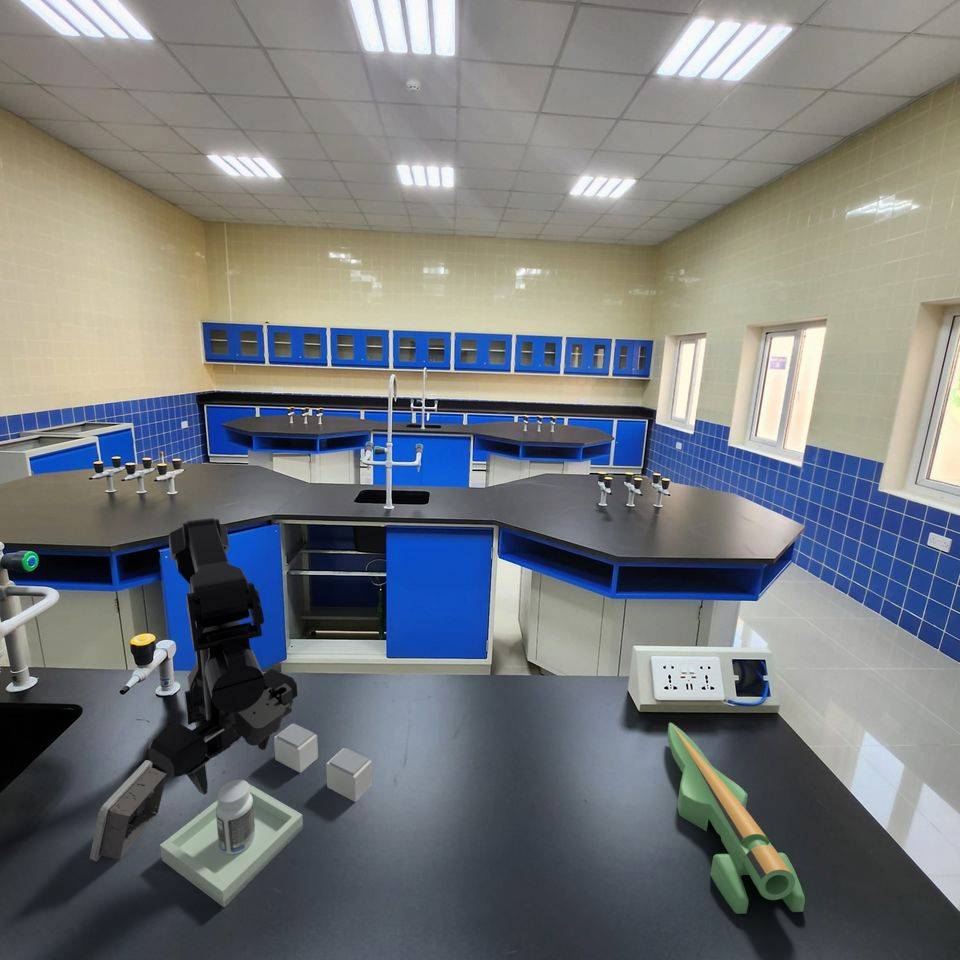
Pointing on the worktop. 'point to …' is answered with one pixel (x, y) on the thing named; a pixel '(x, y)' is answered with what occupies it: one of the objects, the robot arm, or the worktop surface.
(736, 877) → the green toy rocket
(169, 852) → the tray
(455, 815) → the worktop surface
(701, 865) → the worktop surface
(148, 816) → the electrical switch
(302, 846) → the worktop surface
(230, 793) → the pill bottle
